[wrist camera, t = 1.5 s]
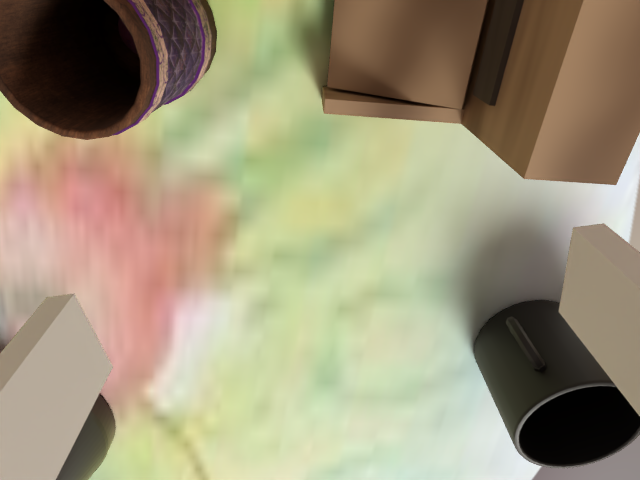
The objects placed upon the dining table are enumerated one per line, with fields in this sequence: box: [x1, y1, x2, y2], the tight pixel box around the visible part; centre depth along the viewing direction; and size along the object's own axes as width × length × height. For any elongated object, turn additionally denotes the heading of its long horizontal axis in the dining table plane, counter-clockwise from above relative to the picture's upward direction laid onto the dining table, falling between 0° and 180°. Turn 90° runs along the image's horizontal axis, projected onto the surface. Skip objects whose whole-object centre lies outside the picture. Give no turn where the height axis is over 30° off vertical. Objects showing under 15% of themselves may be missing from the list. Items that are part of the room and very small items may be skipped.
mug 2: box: [474, 300, 640, 468], centre depth 35 cm, size 9×12×9 cm
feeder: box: [322, 0, 640, 185], centre depth 21 cm, size 12×9×12 cm
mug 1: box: [0, 0, 217, 140], centre depth 20 cm, size 10×7×12 cm
